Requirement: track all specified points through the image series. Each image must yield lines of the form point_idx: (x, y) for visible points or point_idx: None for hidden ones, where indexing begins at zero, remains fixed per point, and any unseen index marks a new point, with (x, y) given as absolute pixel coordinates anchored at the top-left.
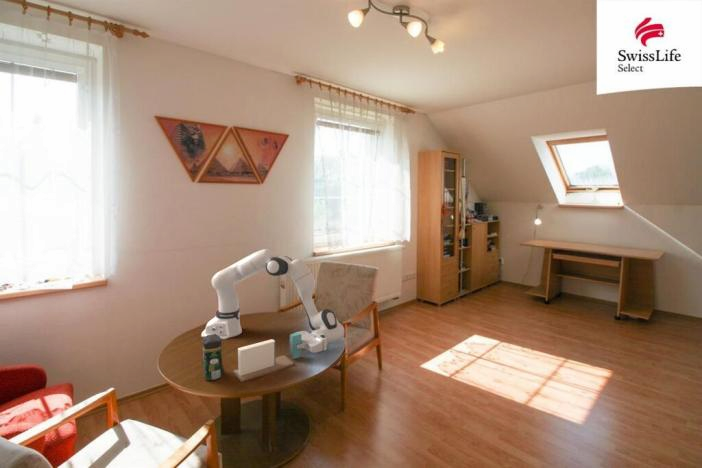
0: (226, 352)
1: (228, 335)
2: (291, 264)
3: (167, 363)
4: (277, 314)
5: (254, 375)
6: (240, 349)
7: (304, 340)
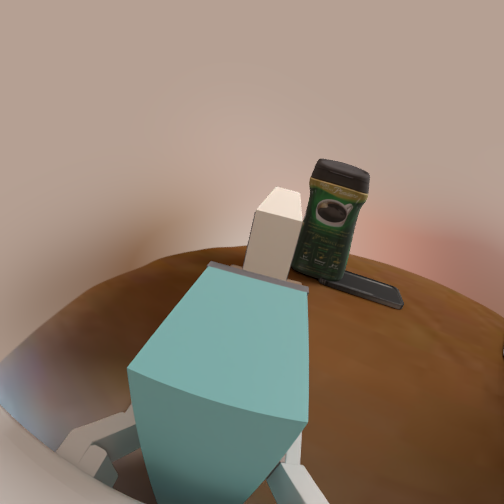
0: (433, 332)
1: None
2: None
3: (404, 271)
4: None
5: None
6: (284, 189)
7: (114, 498)
